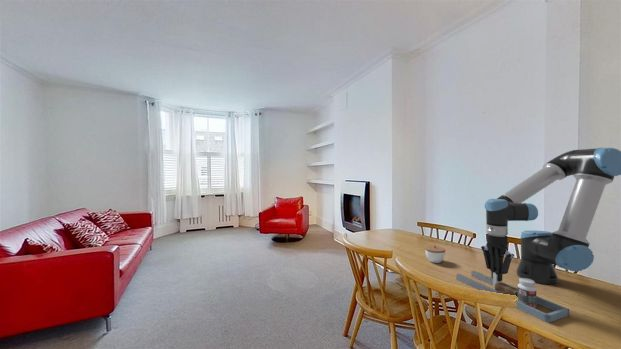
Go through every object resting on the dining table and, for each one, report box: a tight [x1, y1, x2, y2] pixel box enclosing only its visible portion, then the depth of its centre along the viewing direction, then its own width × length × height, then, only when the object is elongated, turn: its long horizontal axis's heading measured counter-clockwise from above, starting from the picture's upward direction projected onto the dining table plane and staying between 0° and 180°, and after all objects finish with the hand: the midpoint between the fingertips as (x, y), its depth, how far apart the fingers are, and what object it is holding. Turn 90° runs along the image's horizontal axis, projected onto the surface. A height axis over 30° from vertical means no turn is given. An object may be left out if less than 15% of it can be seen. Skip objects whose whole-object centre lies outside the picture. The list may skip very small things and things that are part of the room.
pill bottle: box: [517, 277, 537, 309], centre depth 99 cm, size 6×6×10 cm
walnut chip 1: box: [494, 281, 512, 294], centre depth 107 cm, size 4×4×4 cm
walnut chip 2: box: [505, 286, 518, 296], centre depth 104 cm, size 4×4×4 cm
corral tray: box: [515, 287, 570, 324], centre depth 97 cm, size 17×12×2 cm
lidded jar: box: [424, 244, 446, 264], centre depth 147 cm, size 11×11×9 cm
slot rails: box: [455, 270, 518, 293], centre depth 115 cm, size 20×12×2 cm, turn 19°
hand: (496, 287), depth 110 cm, fingers closed
